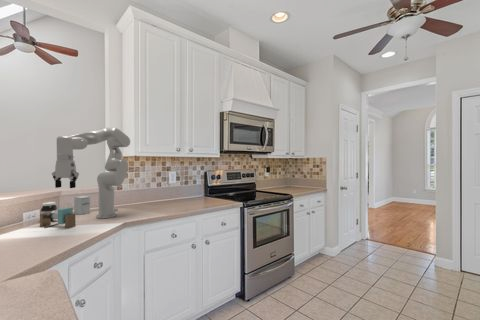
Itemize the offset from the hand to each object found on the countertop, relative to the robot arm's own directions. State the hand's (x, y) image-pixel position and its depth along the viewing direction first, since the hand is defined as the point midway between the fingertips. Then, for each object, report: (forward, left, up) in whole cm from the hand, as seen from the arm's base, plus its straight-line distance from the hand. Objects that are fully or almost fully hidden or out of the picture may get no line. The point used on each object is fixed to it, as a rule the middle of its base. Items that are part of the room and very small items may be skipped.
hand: (65, 187), depth 134 cm
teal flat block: (-6, -6, -22) cm, 24 cm away
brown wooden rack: (-6, -12, -25) cm, 28 cm away
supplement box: (-38, -26, -25) cm, 52 cm away
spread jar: (-17, -29, -25) cm, 41 cm away
